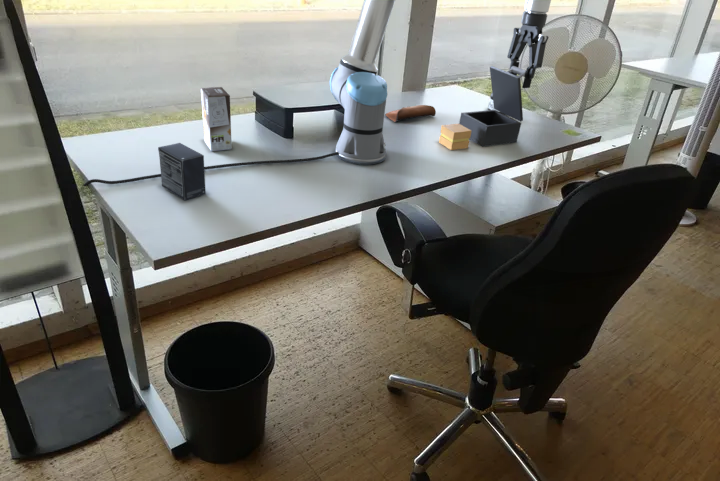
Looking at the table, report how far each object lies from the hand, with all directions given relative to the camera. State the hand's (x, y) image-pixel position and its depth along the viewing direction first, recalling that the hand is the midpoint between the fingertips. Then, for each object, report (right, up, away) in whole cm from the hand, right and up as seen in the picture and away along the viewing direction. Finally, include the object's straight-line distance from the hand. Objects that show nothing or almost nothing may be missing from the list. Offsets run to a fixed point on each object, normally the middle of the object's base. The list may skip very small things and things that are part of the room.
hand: (518, 84), depth 186 cm
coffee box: (-96, -24, -22) cm, 102 cm away
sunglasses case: (-35, -7, +17) cm, 40 cm away
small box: (-98, -40, -49) cm, 116 cm away
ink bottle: (+1, -2, +32) cm, 32 cm away
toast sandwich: (-23, -21, -5) cm, 32 cm away
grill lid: (-5, -4, -1) cm, 6 cm away
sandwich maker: (-10, -17, +5) cm, 20 cm away
